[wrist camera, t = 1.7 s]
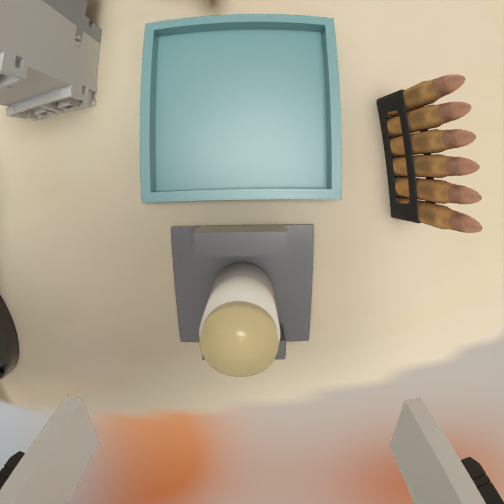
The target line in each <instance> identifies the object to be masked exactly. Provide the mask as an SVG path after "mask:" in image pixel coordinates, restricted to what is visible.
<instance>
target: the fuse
mask: <svg viewBox="0 0 504 504" xmlns="http://www.w3.org/2000/svg"><path fill="white" fill-rule="evenodd" d="M199 337H200V349H201V352H202V355H203V357H204V358H205V360H206V361H207V362H208V364H209V365H210V366H212V367H213V368H214V369H216V370H217V371H219V372H221V373H223V374H226V375H229V376H235V377H245V376H251V375H254V374H257V373H259V372H261V371H263V370H264V369H266V368H267V367H268V366H269V365H270V364H271V363H272V362H273V360H274V359H275V357H276V354H277V352H278V346H279V341H280V326H279V321H278V315H277V310H276V304H275V299H274V293H273V288H272V284H271V281H270V279H269V277H268V276H267V275H266V274H265V272H264V271H263V270H262V269H261V268H259V267H258V266H256V265H254V264H251V263H247V262H238V263H234V264H232V265H230V266H228V267H226V268H225V269H224V270H223V271H222V272H221V273H220V274H219V275H218V276H217V278H216V280H215V282H214V285H213V288H212V291H211V294H210V296H209V299H208V302H207V305H206V308H205V311H204V314H203V317H202V320H201V323H200V328H199Z"/></svg>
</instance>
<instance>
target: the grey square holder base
mask: <svg viewBox="0 0 504 504" xmlns="http://www.w3.org/2000/svg"><path fill="white" fill-rule="evenodd" d="M171 240H172V255H173V268H174V280H175V291H176V302H177V312H178V321H179V330H180V339H181V342H200V337H199V328H200V323H201V320H202V317H203V314H204V311H205V308H206V305H207V302H208V299H209V296H210V294H211V291H212V288H213V285H214V282H215V280H216V278H217V276H218V275H219V274H220V273H221V272H222V271H223V270H224V269H225V268H226V267H228V266H230V265H232V264H234V263H238V262H247V263H251V264H254V265H256V266H258V267H259V268H261V269H262V270H263V271H264V272H265V274H266V275H267V276H268V277H269V279H270V281H271V284H272V288H273V293H274V299H275V304H276V310H277V315H278V321H279V326H280V341H279V346H278V352H277V354H276V357H275V359H285V355H286V341H309V330H310V314H311V295H312V273H313V243H314V225H313V224H285V225H213V226H173V227H171ZM202 360H205V358H204V357H203V355H202Z"/></svg>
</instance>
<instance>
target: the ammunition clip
mask: <svg viewBox="0 0 504 504" xmlns="http://www.w3.org/2000/svg"><path fill="white" fill-rule="evenodd" d="M464 81H465V77H464V76H461V75H447V76H442V77H440V78H437V79H433V80H431V81H423V82H421V83H419V84H417V85H415V86H413V87H411V88H408V89H406V90H399V91H397V92H394V93H392V94H389V95H387V96H384V97H382V98H380V99H378V100H377V107H378V112H379V118H380V124H381V130H382V137H383V144H384V151H385V158H386V166H387V175H388V184H389V195H390V206H391V217H392V218H397V219H401V220H406V221H410V222H415V223H424V224H428V225H431V226H434V227H437V228H440V229H451V230H456V231H459V232H465V233H475V232H479V231H481V230H482V226H481V225H480V223H479V222H477V221H476V220H475V219H473V218H472V217H470V216H468V215H466V214H463V213H459V212H457V211H454V210H451V209H450V208H448V207H446V206H442V205H438V204H436V203H442V204H445V203H458V204H472V203H476V202H478V201H480V200H481V199H482V197H481V195H480V194H479V193H478V192H476V191H474V190H473V189H471V188H468V187H465V186H461V185H456V184H451V183H449V182H446V181H443V180H434V178H443V177H446V176H461V175H467V174H471V173H473V172H476V171H477V170H478V169H479V168H480V166H479V165H478V164H477V163H476V162H474V161H472V160H470V159H467V158H461V157H451V156H444V155H439V154H436V155H431V153H439V152H442V151H445V150H448V149H452V148H458V147H462V146H466V145H468V144H470V143H471V142H473V141H474V140H475V139H476V135H475V134H474V133H472V132H469V131H466V130H460V129H453V130H437V129H434V130H429V131H428V129H431V128H436V127H439V126H441V125H442V124H444V123H447V122H449V121H453V120H456V119H459V118H461V117H463V116H464V115H466V114H467V113H468V112H469V111H470V110H471V105H469V104H467V103H464V102H449V103H445V104H439V105H429V104H431V103H434V102H435V101H437V100H438V99H439V98H441V97H444V96H445V95H447V94H450V93H452V92H454V91H455V90H457V89H458V88H459V87H460V86H461V85H462V84H463V83H464ZM426 105H428V106H426ZM409 111H410V112H409ZM406 112H407V113H406ZM418 131H420V132H419V133H413V132H418ZM410 133H413V134H410ZM417 154H424V155H418V156H413V155H417ZM415 177H426V179H420V178H415ZM417 199H419V200H425V201H419V200H417Z"/></svg>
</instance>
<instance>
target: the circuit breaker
mask: <svg viewBox="0 0 504 504" xmlns="http://www.w3.org/2000/svg"><path fill="white" fill-rule="evenodd" d="M87 3H88V0H0V105H4V106H8V108H6V112H7V116H12V117H18V118H23V119H28V118H31V119H33V120H34V121H35V120H38V119H42V118H45V117H49V116H53V115H56V114H60V113H64V112H68V111H72V110H77V109H81V108H85V107H90V106H94V105H96V101H95V100H93V93H94V92H97V75H98V61H99V50H100V40H101V31H102V30H101V29H100V28H99V27H98V26H97V25H96V24H95V23H91V24H89V22H90V19H89V18H88V17H86V15H85V14H86V8H87ZM82 101H83V103H82ZM70 106H71V107H70ZM23 111H24V112H23Z"/></svg>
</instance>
